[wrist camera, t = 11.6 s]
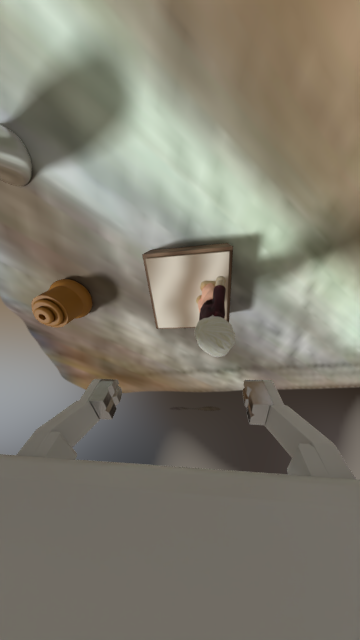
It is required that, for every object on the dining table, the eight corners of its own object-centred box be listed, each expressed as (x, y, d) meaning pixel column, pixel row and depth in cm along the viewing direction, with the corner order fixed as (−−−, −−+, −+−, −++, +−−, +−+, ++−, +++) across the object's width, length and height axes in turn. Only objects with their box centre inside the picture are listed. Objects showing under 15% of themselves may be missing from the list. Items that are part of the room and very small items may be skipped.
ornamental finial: (100, 311, 34) (67, 316, 35) (83, 274, 30) (47, 281, 31) (75, 334, 27) (35, 339, 28) (49, 289, 23) (5, 297, 24)
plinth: (227, 243, 25) (233, 247, 21) (224, 313, 31) (229, 328, 27) (150, 250, 27) (141, 255, 23) (161, 316, 33) (155, 330, 28)
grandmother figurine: (217, 316, 26) (232, 383, 15) (192, 313, 26) (189, 378, 15) (228, 265, 22) (257, 305, 11) (198, 262, 22) (200, 300, 11)
